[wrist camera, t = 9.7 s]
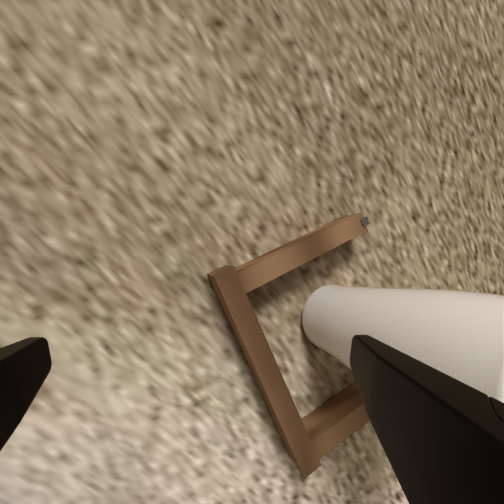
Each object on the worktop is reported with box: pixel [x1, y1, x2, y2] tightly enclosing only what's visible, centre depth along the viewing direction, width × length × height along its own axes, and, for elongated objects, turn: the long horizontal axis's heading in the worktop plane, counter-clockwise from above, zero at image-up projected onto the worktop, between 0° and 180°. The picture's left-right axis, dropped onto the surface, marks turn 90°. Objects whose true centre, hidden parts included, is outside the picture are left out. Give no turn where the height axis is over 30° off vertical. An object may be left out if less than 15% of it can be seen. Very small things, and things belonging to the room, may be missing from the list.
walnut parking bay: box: [208, 213, 370, 478], centre depth 23 cm, size 13×16×3 cm
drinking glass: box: [302, 284, 504, 403], centre depth 18 cm, size 7×7×15 cm
